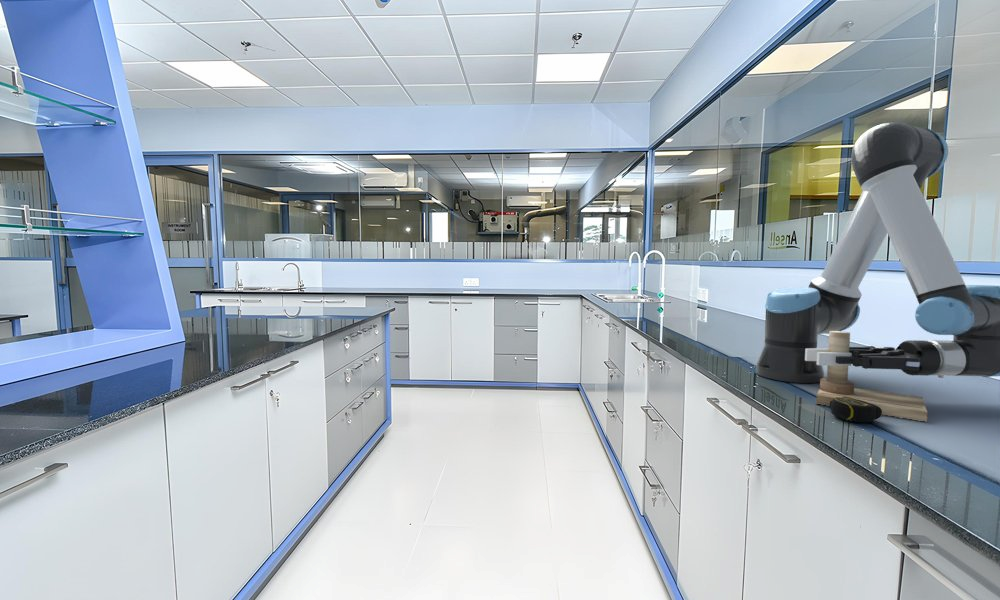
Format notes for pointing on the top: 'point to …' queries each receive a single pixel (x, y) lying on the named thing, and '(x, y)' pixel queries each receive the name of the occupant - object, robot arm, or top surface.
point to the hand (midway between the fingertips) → (812, 356)
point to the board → (883, 402)
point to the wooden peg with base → (838, 374)
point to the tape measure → (854, 409)
